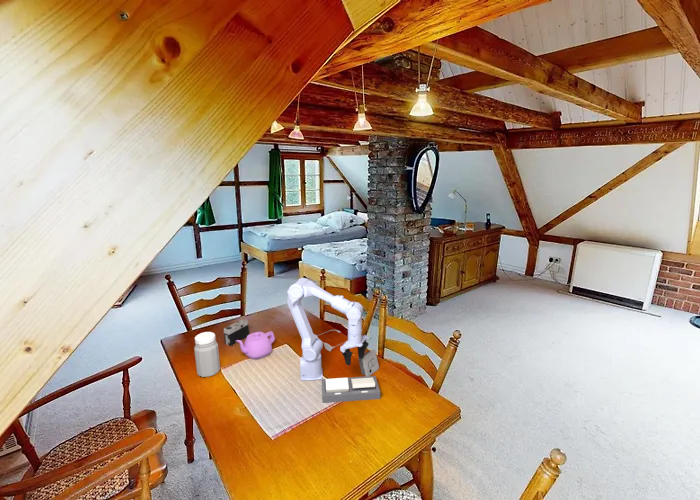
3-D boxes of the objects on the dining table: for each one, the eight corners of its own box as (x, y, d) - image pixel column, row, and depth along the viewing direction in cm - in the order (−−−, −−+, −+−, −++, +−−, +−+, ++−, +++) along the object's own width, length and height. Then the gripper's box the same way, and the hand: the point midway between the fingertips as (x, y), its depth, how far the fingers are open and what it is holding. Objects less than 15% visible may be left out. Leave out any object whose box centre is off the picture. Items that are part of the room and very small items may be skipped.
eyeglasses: (313, 342, 180) (313, 335, 179) (339, 332, 191) (339, 325, 190) (332, 354, 168) (332, 346, 168) (358, 342, 180) (358, 335, 179)
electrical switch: (367, 378, 148) (366, 358, 146) (358, 375, 151) (356, 355, 150) (379, 368, 155) (378, 350, 154) (370, 365, 158) (369, 347, 157)
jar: (224, 372, 153) (220, 335, 149) (203, 381, 146) (198, 344, 142) (214, 363, 159) (210, 328, 155) (193, 372, 152) (189, 336, 148)
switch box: (322, 402, 132) (322, 396, 132) (321, 385, 143) (321, 379, 142) (380, 398, 135) (380, 392, 134) (375, 382, 145) (375, 375, 145)
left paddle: (326, 392, 135) (326, 390, 134) (325, 381, 140) (325, 378, 139) (348, 391, 136) (348, 388, 135) (347, 380, 141) (347, 377, 140)
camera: (240, 332, 190) (239, 315, 187) (251, 337, 185) (250, 320, 182) (218, 342, 179) (217, 325, 176) (229, 348, 174) (228, 330, 171)
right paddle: (352, 388, 136) (352, 384, 136) (351, 382, 141) (351, 378, 141) (375, 386, 136) (375, 382, 136) (372, 381, 142) (372, 377, 142)
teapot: (231, 355, 166) (230, 334, 164) (268, 342, 179) (267, 322, 177) (243, 367, 157) (241, 345, 154) (281, 351, 170) (280, 331, 167)
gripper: (348, 341, 133) (348, 371, 136) (373, 329, 143) (372, 358, 146) (336, 335, 138) (337, 364, 141) (361, 324, 148) (361, 352, 151)
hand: (354, 361), depth 144 cm, fingers open, 7 cm apart
